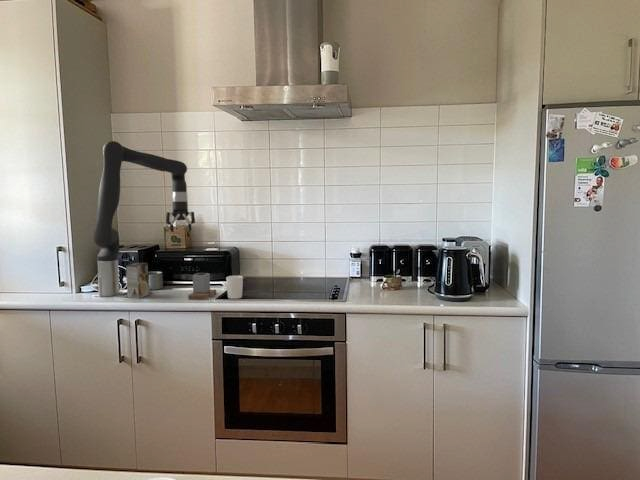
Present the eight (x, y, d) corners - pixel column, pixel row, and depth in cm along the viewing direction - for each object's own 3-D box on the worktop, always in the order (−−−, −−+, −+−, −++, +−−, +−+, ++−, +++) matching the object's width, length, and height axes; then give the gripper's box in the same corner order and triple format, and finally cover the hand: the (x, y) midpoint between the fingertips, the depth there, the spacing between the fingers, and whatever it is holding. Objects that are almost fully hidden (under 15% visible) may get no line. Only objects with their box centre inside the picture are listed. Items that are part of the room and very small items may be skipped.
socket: (193, 293, 217) (192, 275, 216) (198, 290, 223) (198, 272, 222) (204, 293, 216) (204, 275, 215) (210, 291, 221) (209, 273, 221)
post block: (204, 299, 212) (203, 287, 211) (188, 299, 213) (187, 286, 213) (216, 293, 226) (215, 281, 225) (201, 293, 227) (200, 281, 226)
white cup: (235, 294, 223) (234, 274, 222) (246, 296, 218) (246, 276, 217) (223, 297, 216) (222, 277, 215) (234, 300, 212) (234, 279, 211)
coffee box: (138, 294, 225) (137, 262, 224) (149, 294, 224) (148, 262, 222) (127, 298, 216) (125, 265, 215) (139, 298, 215) (137, 265, 213)
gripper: (167, 200, 227) (168, 233, 229) (195, 200, 234) (196, 231, 236) (164, 200, 233) (165, 232, 235) (191, 200, 240) (192, 230, 242)
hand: (180, 231), depth 235 cm, fingers open, 8 cm apart
